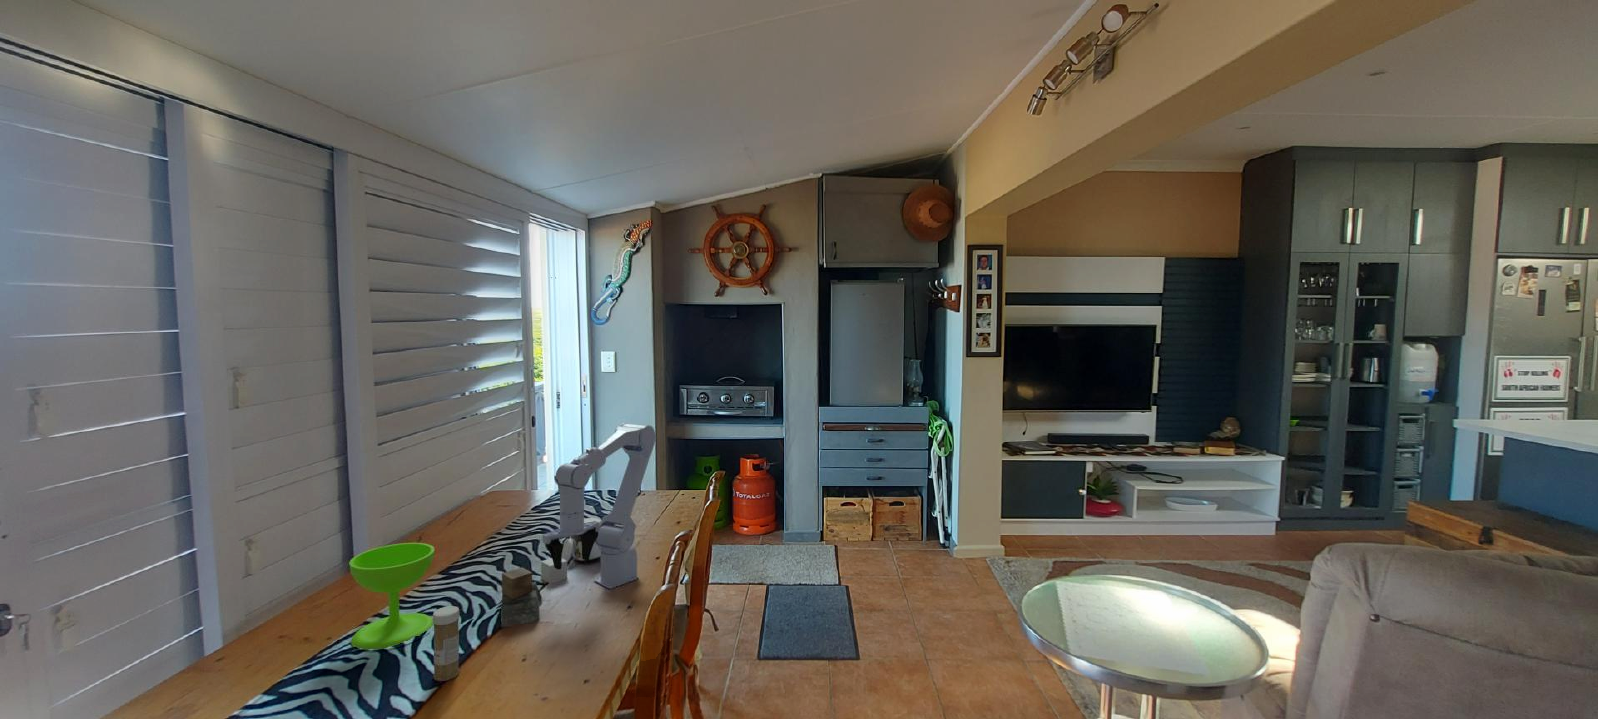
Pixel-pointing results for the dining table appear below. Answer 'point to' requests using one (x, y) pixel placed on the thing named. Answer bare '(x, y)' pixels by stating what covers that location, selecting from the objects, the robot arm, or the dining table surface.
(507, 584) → the walnut cube
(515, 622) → the stone block
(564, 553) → the spread jar
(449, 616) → the sprinkles bottle
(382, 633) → the wineglass
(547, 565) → the grey cube
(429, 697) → the dining table surface
